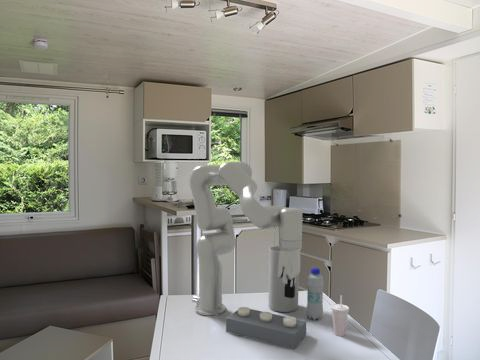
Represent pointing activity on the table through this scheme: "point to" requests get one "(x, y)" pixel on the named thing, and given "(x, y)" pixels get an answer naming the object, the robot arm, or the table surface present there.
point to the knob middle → (266, 316)
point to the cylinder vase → (279, 286)
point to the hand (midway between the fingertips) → (289, 296)
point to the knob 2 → (289, 322)
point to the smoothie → (339, 317)
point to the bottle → (315, 294)
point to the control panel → (266, 329)
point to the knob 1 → (243, 311)
